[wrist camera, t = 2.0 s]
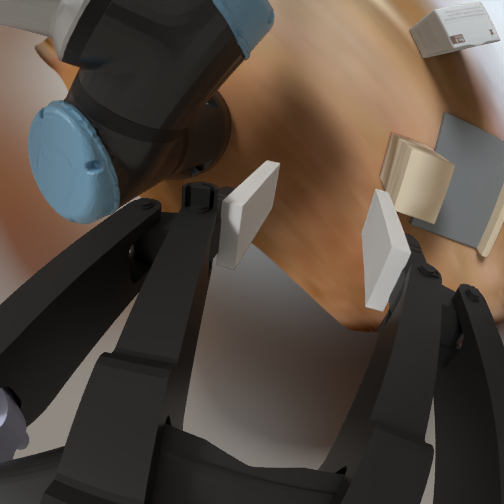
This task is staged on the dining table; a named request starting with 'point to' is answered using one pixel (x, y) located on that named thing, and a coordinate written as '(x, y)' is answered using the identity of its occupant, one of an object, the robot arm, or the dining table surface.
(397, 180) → the beech block
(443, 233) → the slate mat
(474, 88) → the dining table surface
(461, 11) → the skincare box
